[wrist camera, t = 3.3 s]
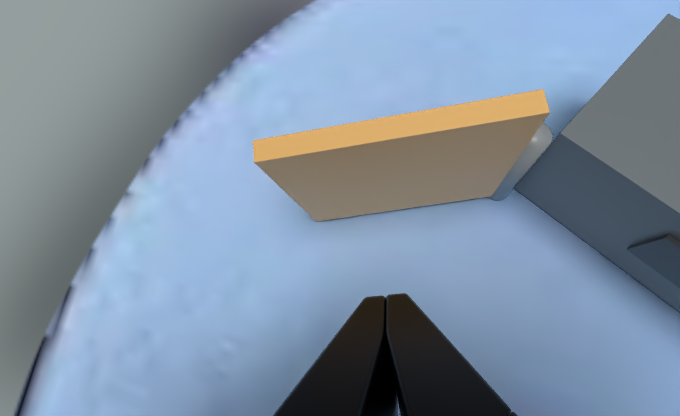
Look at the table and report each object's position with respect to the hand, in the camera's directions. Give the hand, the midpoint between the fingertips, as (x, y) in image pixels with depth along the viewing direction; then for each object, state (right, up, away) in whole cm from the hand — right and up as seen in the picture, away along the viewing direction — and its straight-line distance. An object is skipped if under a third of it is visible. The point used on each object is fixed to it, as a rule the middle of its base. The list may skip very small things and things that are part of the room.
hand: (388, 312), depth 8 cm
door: (+2, +2, +11) cm, 12 cm away
